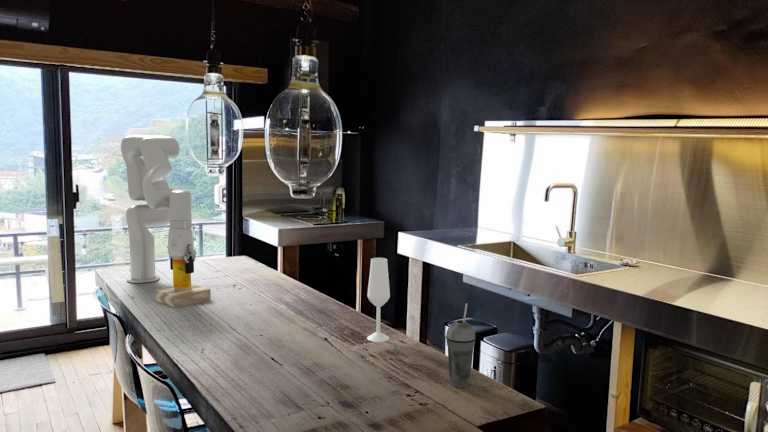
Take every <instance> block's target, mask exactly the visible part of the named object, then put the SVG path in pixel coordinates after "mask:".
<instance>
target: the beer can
mask: <svg viewBox="0 0 768 432" xmlns="http://www.w3.org/2000/svg"><path fill="white" fill-rule="evenodd" d="M187 258H189V257H187ZM172 259H173V270H172V278H173V279H172V281H173V282H172V286H173V288H174V289H175V290H176V291H186V290H189V289H190V287H191V284H192V273H190V274H185V263H186V261H185V259H184V256H183V257H177V256H176V253H175V252H173V253H172Z"/></svg>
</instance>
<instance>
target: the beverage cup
mask: <svg viewBox="0 0 768 432" xmlns="http://www.w3.org/2000/svg"><path fill="white" fill-rule="evenodd" d="M464 305H465V306H464V313H463V319H462V320H455V321H454V322H452V323H451V324H450V325H449V326H448V328H447V331H446V333H445V334H446V335H445V339H446V340H445V341H446V346H447V355H448V356H447V358H448V360H447V361H448V373H449V374H448V375H449V376H448V377H449V384H450V385H451V386H452V387H455V388H466V387H468V386H469V383H470V377H471V368H472V361H473V354H474V347H475V343H476V340H477V339H476V332H475V330H474V328H473V326H472V325H471V324H470V323H469V322H467V321H466V316H467V312H468V311H467V309H468V303H467V302H466V303H465V304H464Z"/></svg>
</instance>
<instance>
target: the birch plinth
mask: <svg viewBox="0 0 768 432" xmlns="http://www.w3.org/2000/svg"><path fill="white" fill-rule="evenodd" d="M211 292H212V291H211V288H207V287H205V286H204V287H203V286H200V285H197V284H194V283H191V287H190V289H189V290H186V291H176V290H175V289H174V288H173V285H172V286H169V287H168V286H167V287H162V288H157V289H154V301H155V302H157V303H162V304H164V305H167V306H170V307H173V308H175V309H177V308H181V307H185V306H189V305H196V304H198V303H203V302H208V301H210V300H211V299H212V298H211Z"/></svg>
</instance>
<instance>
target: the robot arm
mask: <svg viewBox="0 0 768 432" xmlns="http://www.w3.org/2000/svg"><path fill="white" fill-rule="evenodd" d="M180 151H181V150H180V144H179V142H178V140H177V139H176V138H175V137H174V136H167V135H149V134H148V135H145V134H131V135H127V136H124V137H123V138H122V139H121V142H120V152H121V156H122V159H123V161H124V163H125V167H126V177H127V178H126V179H127V191H128V196H129V199H130V200H131V201H133V202H146V203H143V204H134V205H131V206H129V207H128V208H127V209H126V211H125V218H126V219H125V220H126V224H127V229H128V238H129V241H128V243H129V261H130V262H129V264H130V269H129V273H130V276H127V277H126V281H127V282H128V283H131V284H146V283H153V282H156V281H159V280H160V277H161V276H160V275H159V274H156V250H155V248H156V247H155V238H154V237H155V236H154V235H153V233H152V232H151V231H150V230H149V229H148V228H152V227H165V226H168V225H169V228H168V229H169V230H168V235H167V237H168V238H167V246H166V248H167V253H168V255H169V257H168V258H169V262H170V263H169V264H170V265H169V266H170V270H172V271H173V259H172V253H173V252H175V253H176V256H177V257H183V256H184V259H185V261H186V263H185V274H190V273H191V274H193V273H195V264H194V263H195V259H196V256H197V251H196V249H194V238H193V231H192V228H193V226H192V224H193V222H192V218H193V217H192V194H191V191H189V190H186V189H184V188H180V187H177V188H170V185H169V183H168V181H167V180H166V179H165V178H166V177H167V176H168V175H169V174H170V173H171V172H172V168H173V166H172V163H171V162H170V159H175V158H177V157H178V156H179V154H180ZM187 257H189V258H187Z"/></svg>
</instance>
